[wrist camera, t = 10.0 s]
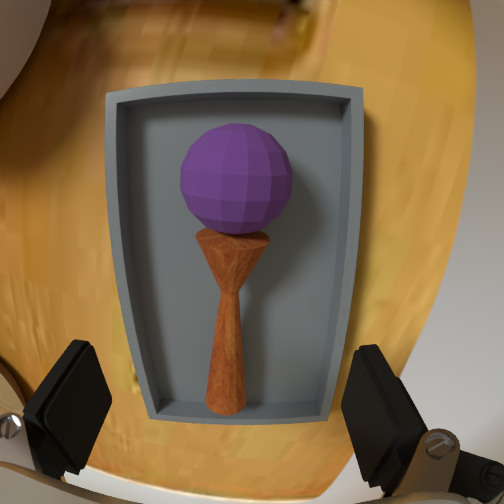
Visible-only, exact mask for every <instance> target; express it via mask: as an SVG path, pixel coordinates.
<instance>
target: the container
mask: <svg viewBox="0 0 504 504" xmlns="http://www.w3.org/2000/svg"><path fill="white" fill-rule="evenodd" d="M50 4H51V0H0V99H1V98H2V97H3V96H4V94H5V93H6V91H7V90H8V89H9V87H10V86H11V84H12V83H13V82H14V80H15V79H16V77H17V76H18V75H19V73H20V71H21V70H22V68H23V67H24V65H25V63H26V61H27V60H28V58H29V56H30V54H31V52H32V51H33V48H34V46H35V44H36V42H37V40H38V38H39V35H40V33H41V30H42V28H43V25H44V22H45V20H46V17H47V14H48V11H49V8H50Z"/></svg>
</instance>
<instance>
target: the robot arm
mask: <svg viewBox="0 0 504 504" xmlns="http://www.w3.org/2000/svg"><path fill="white" fill-rule="evenodd" d="M111 404H112V396H111V393H110V391H109V388H108V386H107V383H106V380H105V378H104V375H103V372H102V369H101V367H100V364H99V361H98V358H97V355H96V352H95V349H94V347H93V346H92V345H91V344H90V343H89V342H88V341H83V340H76V339H75V340H73V341H72V342H71V343H70V345H69V346H68V347H67V349H66V350H65V351H64V353H63V354H62V355H61V357H60V358H59V359H58V361H57V362H56V363H55V365H54V366H53V367H52V369H51V370H50V372H49V373H48V374H47V376H46V377H45V379H44V380H43V381H42V383H41V384H40V386H39V387H38V388H37V390H36V391H35V393H34V394H33V396H32V397H31V399H30V400H29V402H28V403H27V405H26V406H25V408H24V409H23V411H22V412H23V413H24V415H23V416H22V417H21V416H20V415H18V414H16V413H12V412H10V413H5V414H2V415H1V416H0V504H142V503H136V502H132V501H128V500H123V499H119V498H115V497H111V496H107V495H104V494H100V493H97V492H93V491H90V490H87V489H84V488H81V487H78V486H75V485H72V484H69V483H67V482H66V480H65V477H64V473H65V471H67V472H70V473H73V474H76V475H79V472H80V470H81V469H84V468H85V466H86V463H87V461H88V458H89V456H90V453H91V451H92V448H93V446H94V444H95V441H96V439H97V436H98V434H99V432H100V429H101V427H102V425H103V422H104V420H105V418H106V416H107V413H108V411H109V409H110V406H111ZM341 409H342V413H343V416H344V419H345V422H346V425H347V429H348V432H349V435H350V438H351V442H352V445H353V448H354V451H355V455H356V458H357V462H358V465H359V468H360V472H361V475H362V478H363V480H364V481H365V482H366V481H368V483H369V487H370V488H372V487H376V486H381V489H382V491H383V492H384V493H383V495H382V496H381V498H380V499H376V500H371V501H366V502H361V503H356V504H504V465H503V464H501V463H499V462H497V461H493V460H490V459H487V458H484V457H480V456H477V455H474V454H471V453H468V452H465V451H462V450H460V444H459V440H458V439H457V437H456V436H455V435H454V434H453V433H452V432H450V431H448V430H445V429H432V430H430V431H428V429H427V427H426V425H425V423H424V421H423V419H422V417H421V416H420V414H419V412H418V410H417V408H416V407H415V404H414V403H413V401H412V399H411V397H410V395H409V394H408V392H407V390H406V388H405V387H404V385H403V383H402V381H401V380H400V379H399V378H398V377H395V375H394V373H393V371H392V370H391V368H390V366H389V364H388V363H387V361H386V359H385V357H384V356H383V354H382V352H381V350H380V349H379V347H378V346H377V345H376V344H372V345H362V346H360V347H359V350H355V352H354V355H353V359H352V364H351V368H350V372H349V376H348V379H347V383H346V387H345V391H344V394H343V398H342V402H341Z"/></svg>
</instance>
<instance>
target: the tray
mask: <svg viewBox="0 0 504 504" xmlns="http://www.w3.org/2000/svg"><path fill="white" fill-rule="evenodd" d="M228 123H240V124H250V125H253V126H255V127H257V128H259V129H261V130H263V131H265V132H267V133H269V134H271V135H272V136H273V137H274V138H275V139H276V140H277V141H278V143H279V144H280V145H281V146H282V147H283V148H284V150H285V151H286V152H287V155H288V158H289V162H290V165H291V168H292V171H293V181H292V190H291V196H290V198H289V200H288V202H287V204H286V205H285V207H284V209H283V211H282V213H281V214H280V215H279V216H278V217H277V218H275V219H274V220H273V221H271V222H270V223H269V224H268V225H266V226H265V227H264V228H262V229H261V230H260V231H262V232H264V233H265V234H267V235H268V236H269V238H270V242H269V244H268V245H267V247H266V249H265V250H264V252H263V253H262V255H261V257H260V258H259V260H258V262H257V263H256V265H255V266H254V268H253V270H252V271H251V273H250V275H249V276H248V278H247V279H246V281H245V283H244V284H243V286H242V288H241V289H240V291H239V303H240V318H241V334H242V348H243V363H244V377H245V390H246V405H245V407H244V408H243V410H241V411H240V412H238V413H237V414H233V415H219V414H217V413H214V412H212V411H211V410H210V409H209V408H208V407H207V405H206V402H205V398H206V391H207V383H208V376H209V369H210V362H211V355H212V348H213V341H214V334H215V327H216V321H217V314H218V307H219V301H220V295H221V290H220V288H219V286H218V284H217V282H216V280H215V277H214V275H213V273H212V271H211V269H210V267H209V265H208V263H207V261H206V259H205V256H204V254H203V252H202V250H201V248H200V246H199V244H198V242H197V239H196V237H195V236H196V234H197V232H198V231H200V230H202V229H204V228H207V227H205V226H204V225H203V224H202V223H201V222H200V221H199V220H198V219H197V218H196V217H195V216H194V215H193V214H192V213H191V212H190V210H189V209H188V207H187V205H186V202H185V200H184V197H183V195H182V192H181V190H180V173H181V165H182V163H183V161H184V158H185V156H186V154H187V152H188V150H189V148H190V146H191V145H192V144H193V143H194V142H195V141H196V140H198V139H199V138H200V137H201V136H202V135H203V134H204V133H205V132H207V131H208V130H211V129H214V128H217V127H220V126H222V125H225V124H228ZM363 158H364V108H363V88H360V87H353V86H346V85H338V84H329V83H320V82H308V81H294V80H272V79H224V80H203V81H189V82H177V83H167V84H159V85H151V86H144V87H137V88H130V89H124V90H119V91H113V92H108V93H106V101H105V177H106V195H107V209H108V220H109V230H110V239H111V248H112V255H113V263H114V270H115V276H116V283H117V289H118V294H119V300H120V305H121V310H122V316H123V320H124V325H125V330H126V334H127V339H128V343H129V347H130V352H131V356H132V360H133V364H134V367H135V371H136V375H137V378H138V382H139V386H140V389H141V392H142V396H143V399H144V402H145V406H146V409H147V412H148V415H149V418H150V419H156V420H165V421H175V422H186V423H200V424H222V425H269V424H291V423H305V422H317V421H327V420H328V417H329V413H330V409H331V405H332V401H333V396H334V392H335V388H336V383H337V379H338V374H339V369H340V364H341V359H342V354H343V349H344V343H345V338H346V332H347V326H348V320H349V314H350V307H351V301H352V294H353V286H354V279H355V270H356V262H357V252H358V242H359V231H360V219H361V205H362V187H363Z"/></svg>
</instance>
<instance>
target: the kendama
mask: <svg viewBox="0 0 504 504" xmlns="http://www.w3.org/2000/svg"><path fill="white" fill-rule="evenodd" d="M292 181H293V171H292V168H291V165H290V162H289V158H288V155H287V152H286V151H285V150H284V148H283V147H282V146H281V145H280V144H279V143H278V141H277V140H276V139H275V138H274V137H273V136H272V135H271V134H269V133H267V132H265V131H263V130H261V129H259V128H257V127H255V126H253V125H250V124H240V123H228V124H225V125H222V126H220V127H217V128H214V129H211V130H208V131H207V132H205V133H204V134H203V135H202V136H201V137H200V138H199V139H198V140H196V141H195V142H194V143H193V144H192V145H191V146H190V148H189V150H188V152H187V154H186V156H185V158H184V161H183V163H182V165H181V173H180V190H181V192H182V195H183V197H184V200H185V202H186V205H187V207H188V209H189V210H190V212H191V213H192V214H193V215H194V216H195V217H196V218H197V219H198V220H199V221H200V222H201V223H202V224H203V225H204V226H205V227H207V228H204V229H202V230H200V231H198V232H197V234H196V236H195V237H196V239H197V242H198V244H199V246H200V248H201V250H202V252H203V254H204V256H205V259H206V261H207V263H208V265H209V267H210V269H211V271H212V273H213V275H214V277H215V280H216V282H217V284H218V286H219V288H220V290H221V295H220V301H219V307H218V314H217V321H216V327H215V334H214V341H213V348H212V355H211V362H210V369H209V376H208V383H207V391H206V398H205V402H206V405H207V407H208V408H209V409H210V410H211V411H212V412H214V413H217V414H219V415H233V414H237V413H238V412H240V411H241V410H243V408H244V407H245V405H246V390H245V377H244V363H243V348H242V334H241V318H240V303H239V291H240V289H241V288H242V286H243V284H244V283H245V281H246V279H247V278H248V276H249V275H250V273H251V271H252V270H253V268H254V266H255V265H256V263H257V262H258V260H259V258H260V257H261V255H262V253H263V252H264V250H265V249H266V247H267V245H268V244H269V242H270V238H269V236H268V235H267V234H265V233H264V232H262V231H260V230H261V229H262V228H264V227H265V226H266V225H268V224H269V223H270V222H271V221H273V220H274V219H275V218H277V217H278V216H279V215H280V214H281V213H282V211H283V209H284V207H285V205H286V204H287V202H288V200H289V198H290V196H291V190H292Z"/></svg>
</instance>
